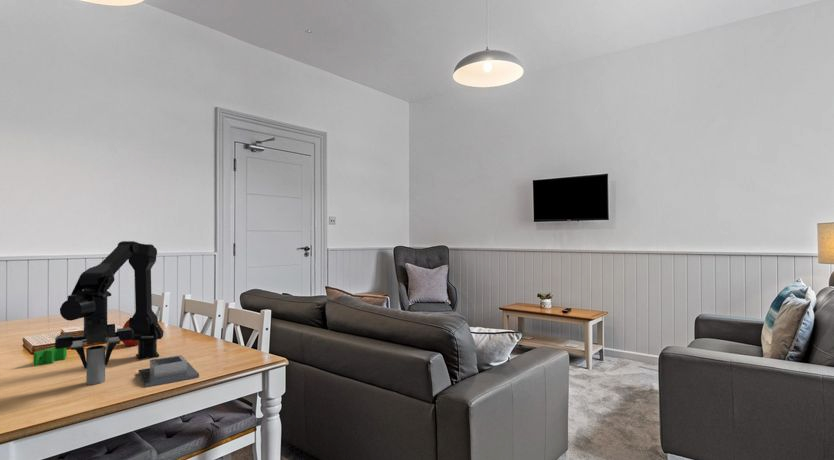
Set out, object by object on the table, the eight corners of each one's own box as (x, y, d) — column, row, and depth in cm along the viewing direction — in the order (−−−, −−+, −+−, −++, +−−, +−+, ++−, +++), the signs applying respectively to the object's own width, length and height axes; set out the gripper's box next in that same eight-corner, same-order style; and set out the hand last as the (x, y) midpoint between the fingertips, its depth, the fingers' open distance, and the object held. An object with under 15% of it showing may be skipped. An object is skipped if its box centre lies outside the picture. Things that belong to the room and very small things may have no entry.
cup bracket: (138, 373, 142) (138, 358, 142) (187, 364, 151) (187, 351, 151) (145, 387, 130) (145, 371, 130) (199, 377, 138) (199, 362, 138)
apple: (149, 344, 179) (149, 316, 179) (127, 348, 172) (127, 320, 172) (138, 341, 183) (138, 314, 183) (116, 345, 176) (116, 318, 176)
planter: (85, 385, 131) (84, 350, 131) (87, 381, 135) (87, 346, 135) (104, 383, 133) (103, 348, 133) (106, 378, 137) (106, 344, 137)
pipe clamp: (43, 367, 150) (43, 353, 150) (33, 366, 150) (33, 352, 150) (73, 357, 161) (73, 344, 161) (63, 356, 162) (63, 344, 161)
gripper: (54, 322, 122) (54, 380, 122) (136, 314, 133) (136, 367, 133) (55, 316, 131) (55, 370, 131) (131, 308, 142) (131, 358, 142)
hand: (95, 366), depth 134 cm, fingers closed on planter, 4 cm apart
